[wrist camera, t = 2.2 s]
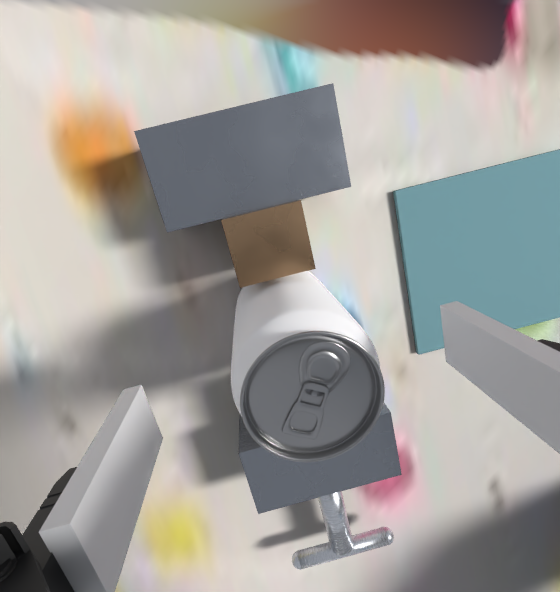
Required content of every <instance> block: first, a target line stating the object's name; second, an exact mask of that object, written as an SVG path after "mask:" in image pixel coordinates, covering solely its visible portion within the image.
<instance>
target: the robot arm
mask: <svg viewBox="0 0 560 592" xmlns="http://www.w3.org/2000/svg"><path fill="white" fill-rule="evenodd" d="M440 311H441V320H442V329H443V338H444V347H445V356H446V362H447V363H449V364H450V365H451V366H452V367H454V368H455V369H456V370H457V371H459V372H460V373H461V374H462V375H463V376H465V377H466V378H467V379H468V380H470V381H471V382H472V383H473V384H474V385H476V386H477V387H478V388H479V389H481V390H482V391H483V392H484V393H486V394H487V395H488V396H489V397H490V398H492V399H493V400H494V401H495V402H497V403H498V404H499V405H500V406H502V407H503V408H504V409H505V410H506V411H508V412H509V413H510V414H511V415H513V416H514V417H515V418H516V419H517V420H519V421H520V422H521V423H522V424H524V425H525V426H526V427H527V428H529V429H530V430H531V431H532V432H533V433H535V434H536V435H537V436H538V437H540V438H541V439H542V440H543V441H544V442H546V443H547V444H548V445H549V446H551V447H552V448H553V449H554V450H556V451H557V452H558V453H559V454H560V343H556V342H551V341H547V340H543V339H542V340H538V341H537V340H535V339H533V338H531V337H529V336H527V335H525V334H522V333H520V332H518V331H516V330H514V329H512V328H510V327H508V326H506V325H504V324H502V323H500V322H498V321H496V320H494V319H492V318H490V317H488V316H486V315H484V314H482V313H480V312H478V311H476V310H474V309H472V308H470V307H468V306H466V305H464V304H462V303H460V302H458V301H455V302H451V303H447V304H443V305H440ZM162 439H163V437H162V435H161V432H160V430H159V427H158V425H157V422H156V420H155V417H154V415H153V412H152V410H151V407H150V405H149V402H148V400H147V397H146V395H145V392H144V390H143V387H142V385H138V386H134V387H130V388H127V389H123V391H122V393H121V394H120V396H119V398H118V399H117V401H116V403H115V404H114V406H113V408H112V410H111V411H110V413H109V415H108V416H107V418H106V420H105V421H104V423H103V425H102V426H101V428H100V430H99V431H98V433H97V435H96V436H95V438H94V440H93V441H92V443H91V445H90V447H89V448H88V450H87V452H86V453H85V455H84V457H83V458H82V460H81V462H80V463H79V465H78V467H75V468H71V469H69V470H68V471H67V472H66V473H65V474H64V475H63V476H62V477H61V478H60V479H59V480H58V481H57V482H56V483H55V485H54V486H53V488H52V489H51V491H50V493H49V494H48V496H47V499H45V500H44V502H43V504H42V505H41V507H40V510H38V511H37V513H36V515H35V516H34V518H33V519H32V521H31V522H30V524H29V526H28V527H27V529H26V530H25V532H24V533H23V535H22V534H21V533H20V531H19V529H18V528H17V526H16V525H15V524H14V523H13V522H3V523H0V592H115V589H116V586H117V582H118V579H119V576H120V573H121V570H122V567H123V563H124V560H125V557H126V554H127V551H128V548H129V544H130V541H131V538H132V535H133V532H134V528H135V525H136V522H137V519H138V516H139V513H140V509H141V506H142V503H143V500H144V497H145V494H146V490H147V487H148V484H149V481H150V478H151V474H152V471H153V468H154V465H155V462H156V459H157V455H158V452H159V449H160V446H161V443H162Z"/></svg>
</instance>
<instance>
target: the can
mask: <svg viewBox="0 0 560 592" xmlns="http://www.w3.org/2000/svg"><path fill="white" fill-rule="evenodd" d="M231 388H232V394H233V399H234V402H235V405H236V407H237V409H238V411H239V413H240V414H241V416H242V419H243V422H244V424H245V426H246V428H247V430H248V432H249V434H250V435H251V436H252V438H253V439H254V440H255V441H256V442H257V443H258V444H259V445H260V446H261V447H262V448H264V449H265V450H267V451H268V452H270V453H271V454H273V455H275V456H278V457H280V458H283V459H286V460H290V461H296V462H317V461H323V460H327V459H331V458H334V457H336V456H339V455H341V454H343V453H345V452H347V451H349V450H350V449H352V448H353V447H355V446H356V445H357V444H359V443H360V442H361V441H362V440H363V439H364V438H365V437H366V436H367V435H368V434H369V432H370V431H371V430H372V428H373V427H374V425H375V424H376V422H377V420H378V418H379V416H380V413H381V410H382V407H383V402H384V393H385V390H384V381H383V376H382V373H381V370H380V364H379V359H378V355H377V352H376V349H375V347H374V345H373V343H372V341H371V340H370V338H369V336H368V335H367V334H366V332H365V331H364V330H363V329H362V327H361V326H360V325H359V324H358V323H357V321H356V320H355V319H354V318H353V317H352V316H351V315H350V314H349V312H348V311H347V310H346V309H345V308H344V307H343V306H342V305H341V304H340V303H339V301H338V300H337V299H336V298H335V297H334V296H333V295H332V294H331V293H330V292H329V290H328V289H327V288H326V287H325V286H324V285H323V284H322V283H321V282H320V281H319V280H318V279H317V278H316V277H315V276H314V275H313V274H312V273H310V272H309V271H304V272H300V273H297V274H293V275H289V276H285V277H281V278H277V279H273V280H269V281H265V282H261V283H257V284H254V285H250V286H246V287H243V288H242V290H241V292H240V294H239V296H238V300H237V304H236V312H235V323H234V335H233V347H232V361H231Z"/></svg>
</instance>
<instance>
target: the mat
mask: <svg viewBox="0 0 560 592" xmlns="http://www.w3.org/2000/svg"><path fill="white" fill-rule="evenodd" d="M393 194H394V201H395V208H396V215H397V222H398V229H399V236H400V243H401V250H402V257H403V264H404V271H405V278H406V284H407V291H408V298H409V305H410V312H411V319H412V326H413V333H414V340H415V347H416V353H418V354H423V353H427V352H430V351H434V350H438V349H442V348H445V347H444V338H443V329H442V320H441V311H440V305H443V304H447V303H451V302H455V301H458V302H460V303H462V304H464V305H466V306H468V307H470V308H472V309H474V310H476V311H478V312H480V313H482V314H484V315H486V316H488V317H490V318H492V319H494V320H496V321H498V322H500V323H502V324H504V325H506V326H508V327H510V328H512V329H517V328H521V327H525V326H529V325H532V324H536V323H540V322H544V321H547V320H551V319H555V318H559V317H560V149H559V150H555V151H551V152H547V153H543V154H539V155H535V156H531V157H527V158H523V159H519V160H515V161H511V162H507V163H503V164H499V165H495V166H491V167H487V168H483V169H479V170H475V171H471V172H467V173H463V174H459V175H456V176H452V177H448V178H444V179H440V180H436V181H432V182H428V183H424V184H420V185H416V186H412V187H408V188H404V189H400V190H396V191H393Z"/></svg>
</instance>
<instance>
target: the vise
mask: <svg viewBox="0 0 560 592" xmlns="http://www.w3.org/2000/svg"><path fill="white" fill-rule="evenodd" d="M134 132H135V135H136V138H137V141H138V144H139V147H140V150H141V153H142V157H143V160H144V163H145V166H146V169H147V172H148V175H149V178H150V181H151V184H152V187H153V190H154V194H155V197H156V200H157V203H158V206H159V209H160V212H161V215H162V218H163V221H164V224H165V227H166V231H167V232H171V231H175V230H179V229H183V228H187V227H191V226H195V225H199V224H203V223H207V222H211V221H215V220H219V219H222V220H221V222H222V225H223V229H224V232H225V236H226V239H227V243H228V247H229V250H230V254H231V257H232V261H233V265H234V268H235V272H236V275H237V279H238V282H239V286H240V288H242V287H246V286H250V285H254V284H257V283H261V282H265V281H269V280H273V279H277V278H281V277H285V276H289V275H293V274H297V273H300V272H304V271H308V270H312V269H315V264H314V260H313V255H312V250H311V246H310V241H309V236H308V232H307V227H306V222H305V218H304V213H303V208H302V204H301V200H299V199H303V198H307V197H311V196H315V195H319V194H323V193H327V192H331V191H335V190H339V189H343V188H347V187H351V183H350V177H349V171H348V166H347V160H346V154H345V148H344V143H343V137H342V131H341V126H340V120H339V114H338V108H337V103H336V97H335V91H334V86H333V83H332V84H328V85H324V86H320V87H316V88H312V89H308V90H303V91H299V92H295V93H291V94H287V95H283V96H279V97H274V98H270V99H266V100H262V101H258V102H254V103H250V104H245V105H241V106H237V107H233V108H229V109H225V110H221V111H216V112H212V113H208V114H204V115H200V116H196V117H192V118H187V119H183V120H179V121H175V122H171V123H167V124H163V125H158V126H154V127H150V128H146V129H142V130H138V131H134ZM239 456H240V459H241V462H242V465H243V468H244V471H245V474H246V477H247V480H248V483H249V487H250V490H251V493H252V496H253V499H254V502H255V505H256V508H257V511H258V514H260V513H263V512H267V511H271V510H274V509H278V508H282V507H285V506H289V505H293V504H296V503H300V502H304V501H307V500H311V499H314V498H318V500H319V504H320V508H321V512H322V516H323V519H324V523H325V527H326V531H327V535H328V539H329V542H327V543H324V544H320V545H316V546H313V547H309V548H306V549H302V550H298V551H296V552H295V553H294V554H293V556H292V563H293V565H294V567H295V568H296V569H304V568H308V567H312V566H315V565H319V564H322V563H326V562H329V561H333V560H337V559H340V558H344V557H347V556H351V555H354V554H358V553H362V552H365V551H369V550H372V549H376V548H380V547H383V546H387V545H390V544H391V543H392V542H393V539H394V535H393V532H392V531H391V530H390V529H389V528H388V527H381V528H378V529H374V530H370V531H367V532H363V533H360V534H356V535H351V530H350V526H349V522H348V518H347V514H346V509H345V505H344V501H343V497H342V492H341V491H344V490H347V489H351V488H355V487H358V486H362V485H366V484H369V483H373V482H376V481H380V480H384V479H387V478H391V477H395V476H398V475H402V474H401V469H400V463H399V457H398V452H397V446H396V440H395V434H394V429H393V423H392V417H391V412H390V411H389V409H388V408H387V406H386V405H385V403H384V402H383V407H382V410H381V413H380V416H379V418H378V420H377V422H376V424H375V425H374V427H373V428H372V430H371V431H370V432H369V434H368V435H367V436H366V437H365V438H364V439H363V440H362V441H361V442H360V443H359V444H357V445H356V446H355V447H353V448H352V449H350V450H349V451H347V452H345V453H343V454H341V455H339V456H336V457H334V458H331V459H327V460H323V461H317V462H296V461H290V460H286V459H283V458H280V457H278V456H275V455H273V454H271V453H270V452H268V451H267V450H265V449H264V448H262V447H261V446H260V445H259V444H258V443H257V442H256V441H255V440H254V439H253V438H252V436H251V435H250V434H249V432H248V430H247V428H246V426H245V424H244V422H243V419H242V416H241V414H240V418H239Z"/></svg>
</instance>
